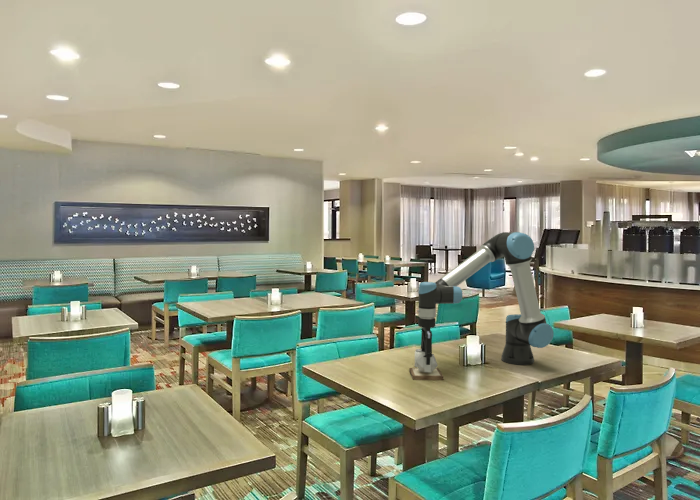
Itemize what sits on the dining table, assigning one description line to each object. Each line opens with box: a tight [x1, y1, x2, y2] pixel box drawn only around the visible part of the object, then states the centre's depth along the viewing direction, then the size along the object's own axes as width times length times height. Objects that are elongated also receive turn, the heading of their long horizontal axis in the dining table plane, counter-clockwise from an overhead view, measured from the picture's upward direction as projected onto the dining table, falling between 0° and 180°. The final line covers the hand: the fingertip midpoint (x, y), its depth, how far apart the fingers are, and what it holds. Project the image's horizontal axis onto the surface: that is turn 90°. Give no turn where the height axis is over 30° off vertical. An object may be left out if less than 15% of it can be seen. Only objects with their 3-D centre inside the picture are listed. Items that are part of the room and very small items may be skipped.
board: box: [408, 367, 444, 381], centre depth 222 cm, size 13×13×2 cm
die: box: [416, 353, 438, 374], centre depth 221 cm, size 8×9×10 cm
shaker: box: [414, 348, 423, 368], centre depth 236 cm, size 4×4×8 cm
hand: (425, 369), depth 221 cm, fingers closed on die, 8 cm apart
